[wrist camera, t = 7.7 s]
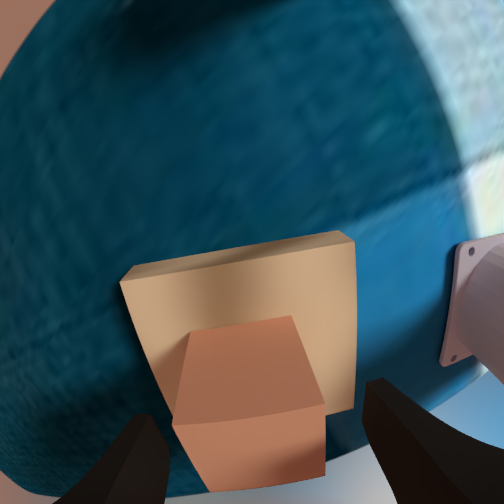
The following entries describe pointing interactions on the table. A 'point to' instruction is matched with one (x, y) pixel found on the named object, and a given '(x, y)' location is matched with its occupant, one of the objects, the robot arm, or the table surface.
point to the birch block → (253, 305)
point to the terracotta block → (250, 407)
